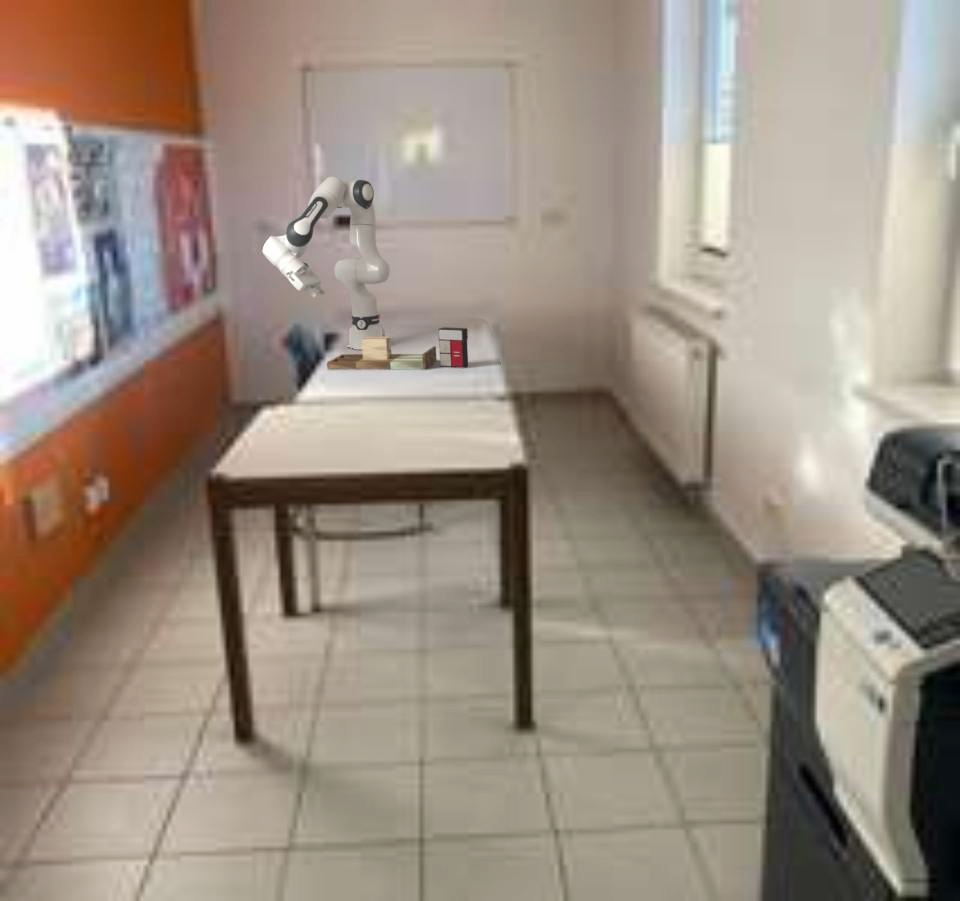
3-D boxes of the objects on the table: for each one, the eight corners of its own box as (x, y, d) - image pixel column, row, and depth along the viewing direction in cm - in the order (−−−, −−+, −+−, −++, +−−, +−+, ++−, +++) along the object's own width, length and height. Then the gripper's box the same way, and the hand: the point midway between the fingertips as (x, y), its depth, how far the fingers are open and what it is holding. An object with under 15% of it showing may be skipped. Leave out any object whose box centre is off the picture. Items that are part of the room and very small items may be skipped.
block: (367, 356, 399) (366, 337, 397) (391, 356, 397) (390, 336, 395) (363, 359, 394) (361, 339, 391) (387, 359, 392) (385, 339, 389)
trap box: (342, 361, 408) (341, 347, 407) (436, 361, 400) (435, 346, 399) (327, 369, 391) (326, 354, 390) (425, 369, 383) (424, 354, 382)
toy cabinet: (439, 367, 388) (437, 328, 384) (444, 365, 391) (442, 327, 387) (463, 368, 383) (462, 329, 379) (469, 366, 386) (467, 328, 382)
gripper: (290, 266, 385) (316, 291, 385) (308, 262, 404) (332, 286, 405) (280, 278, 386) (305, 303, 387) (298, 274, 406) (323, 298, 407)
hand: (319, 294), depth 396 cm, fingers open, 8 cm apart
